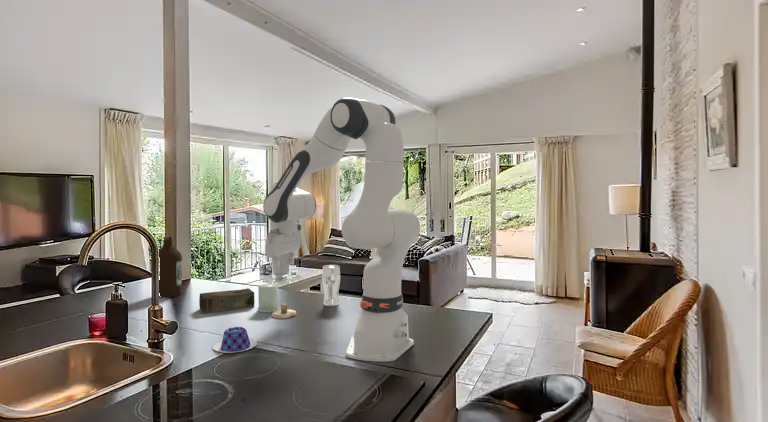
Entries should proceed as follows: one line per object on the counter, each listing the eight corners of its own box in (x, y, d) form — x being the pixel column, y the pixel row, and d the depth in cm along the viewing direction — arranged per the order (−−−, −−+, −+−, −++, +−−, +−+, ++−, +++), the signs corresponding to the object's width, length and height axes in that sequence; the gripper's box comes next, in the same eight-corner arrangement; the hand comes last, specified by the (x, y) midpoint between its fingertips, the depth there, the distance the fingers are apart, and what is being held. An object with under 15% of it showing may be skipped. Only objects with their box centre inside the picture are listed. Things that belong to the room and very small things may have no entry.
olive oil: (152, 298, 182) (150, 238, 181) (159, 292, 192) (157, 235, 191) (180, 297, 184) (178, 237, 183) (185, 291, 195) (184, 234, 193)
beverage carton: (255, 307, 169) (255, 290, 169) (201, 315, 160) (201, 297, 159) (250, 303, 176) (250, 286, 176) (198, 309, 167) (198, 292, 166)
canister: (272, 313, 161) (272, 288, 161) (253, 311, 163) (253, 287, 162) (282, 307, 168) (282, 284, 168) (264, 306, 170) (264, 283, 170)
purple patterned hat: (206, 347, 128) (205, 329, 127) (245, 337, 136) (245, 320, 136) (224, 358, 119) (224, 339, 119) (264, 347, 127) (264, 329, 127)
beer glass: (339, 306, 170) (338, 267, 169) (321, 306, 170) (320, 267, 169) (341, 301, 177) (341, 264, 176) (323, 301, 177) (323, 264, 176)
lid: (289, 320, 153) (289, 308, 153) (267, 318, 156) (267, 306, 155) (300, 313, 162) (300, 302, 161) (279, 311, 164) (279, 300, 163)
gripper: (277, 230, 146) (277, 272, 147) (303, 225, 166) (304, 261, 167) (260, 230, 148) (260, 271, 149) (288, 224, 168) (288, 261, 168)
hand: (283, 266), depth 158 cm, fingers open, 8 cm apart
